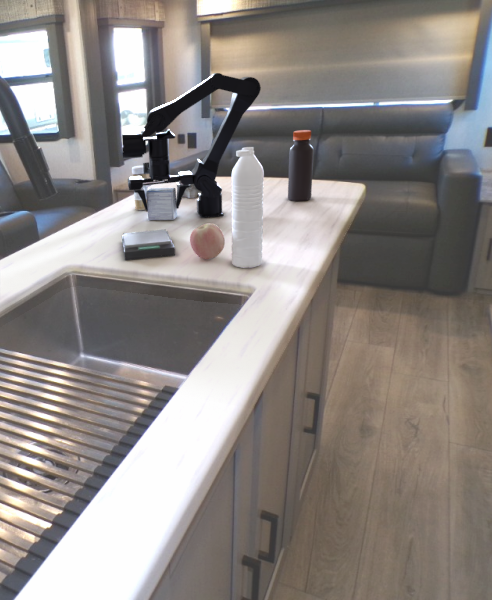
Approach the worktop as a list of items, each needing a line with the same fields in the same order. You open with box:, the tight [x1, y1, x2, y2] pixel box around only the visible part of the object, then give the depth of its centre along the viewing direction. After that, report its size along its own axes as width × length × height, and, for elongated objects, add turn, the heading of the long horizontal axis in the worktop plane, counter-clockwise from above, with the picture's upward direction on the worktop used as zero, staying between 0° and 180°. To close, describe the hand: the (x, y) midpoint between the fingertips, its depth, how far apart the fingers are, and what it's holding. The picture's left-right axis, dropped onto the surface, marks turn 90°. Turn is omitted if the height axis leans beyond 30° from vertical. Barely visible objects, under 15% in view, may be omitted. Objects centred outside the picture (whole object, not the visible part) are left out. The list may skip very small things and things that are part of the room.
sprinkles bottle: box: [131, 164, 149, 211], centre depth 169 cm, size 5×5×14 cm
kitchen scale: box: [121, 228, 176, 261], centre depth 134 cm, size 12×14×3 cm
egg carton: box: [182, 184, 202, 199], centre depth 183 cm, size 11×8×4 cm
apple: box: [189, 222, 226, 260], centre depth 123 cm, size 8×8×8 cm
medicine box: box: [146, 187, 178, 221], centre depth 157 cm, size 8×4×9 cm, turn 71°
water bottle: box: [230, 146, 265, 269], centre depth 113 cm, size 9×6×25 cm
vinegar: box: [287, 129, 315, 202], centre depth 161 cm, size 7×7×20 cm
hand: (162, 209), depth 158 cm, fingers closed on medicine box, 9 cm apart
